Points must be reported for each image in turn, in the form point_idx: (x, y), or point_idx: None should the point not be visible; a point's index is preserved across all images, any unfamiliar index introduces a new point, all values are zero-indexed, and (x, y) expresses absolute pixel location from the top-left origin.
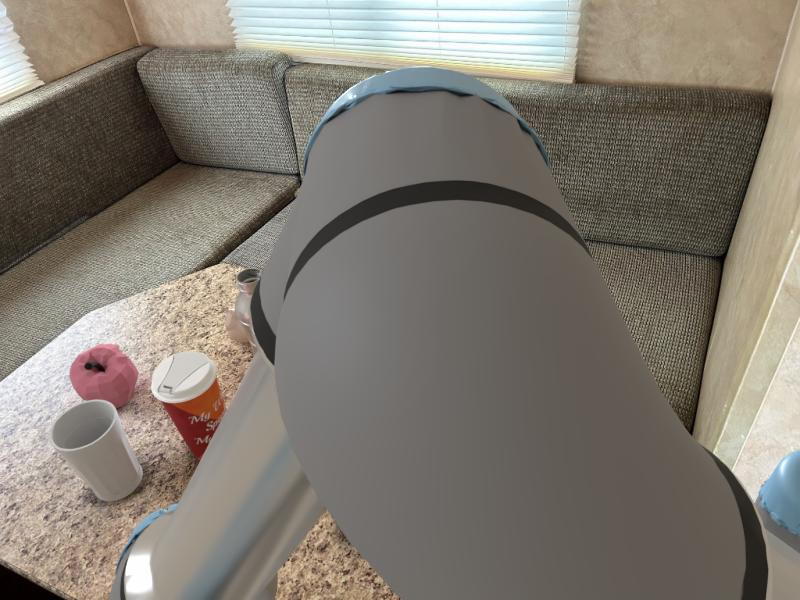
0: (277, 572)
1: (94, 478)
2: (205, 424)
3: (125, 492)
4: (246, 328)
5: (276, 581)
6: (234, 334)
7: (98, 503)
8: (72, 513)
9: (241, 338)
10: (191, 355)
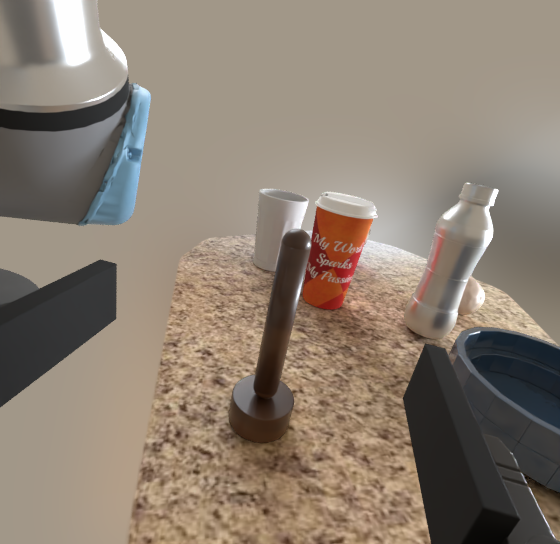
0: (25, 104)
1: (257, 231)
2: (319, 252)
3: (260, 263)
4: (433, 238)
5: (7, 98)
6: None
7: (250, 259)
8: (241, 252)
9: None
10: (368, 202)
